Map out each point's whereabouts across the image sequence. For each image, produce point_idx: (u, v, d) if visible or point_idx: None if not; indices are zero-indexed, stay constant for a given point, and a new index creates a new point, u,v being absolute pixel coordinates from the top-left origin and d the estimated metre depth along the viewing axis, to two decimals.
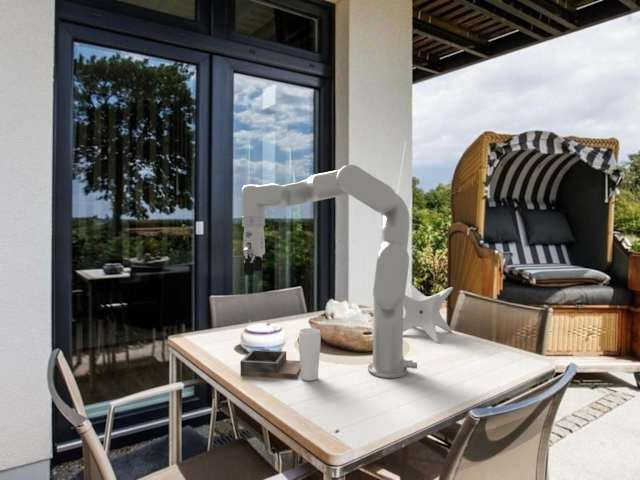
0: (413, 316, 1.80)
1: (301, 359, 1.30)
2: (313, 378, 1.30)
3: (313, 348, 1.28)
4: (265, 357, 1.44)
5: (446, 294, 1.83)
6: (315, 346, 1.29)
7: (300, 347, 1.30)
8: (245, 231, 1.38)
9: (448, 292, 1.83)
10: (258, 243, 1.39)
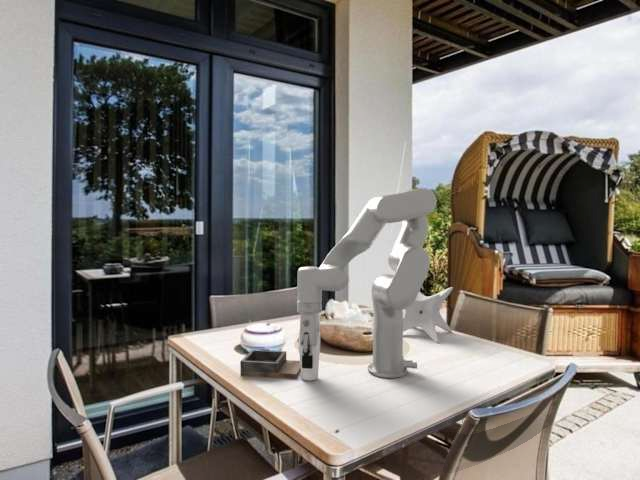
0: (413, 316, 1.80)
1: (301, 359, 1.30)
2: (313, 378, 1.30)
3: (313, 348, 1.29)
4: (265, 357, 1.44)
5: (446, 294, 1.83)
6: (315, 346, 1.29)
7: (300, 347, 1.30)
8: (302, 319, 1.27)
9: (448, 292, 1.83)
10: (316, 331, 1.27)
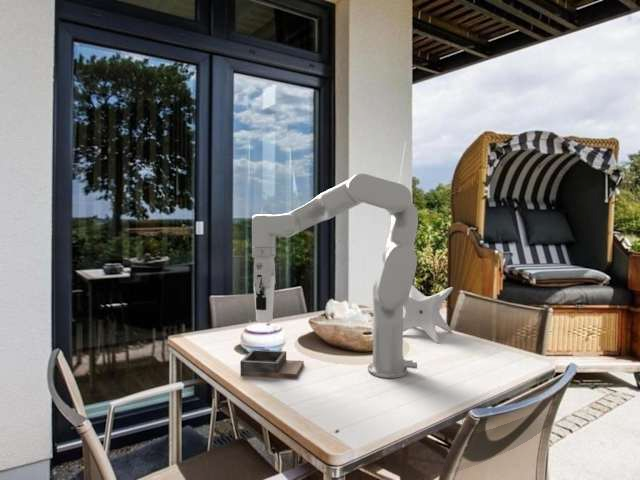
0: (413, 316, 1.80)
1: (255, 301, 1.37)
2: (267, 319, 1.36)
3: (266, 290, 1.35)
4: (265, 357, 1.44)
5: (446, 294, 1.83)
6: None
7: (254, 290, 1.36)
8: (255, 263, 1.33)
9: (448, 292, 1.83)
10: (269, 274, 1.34)
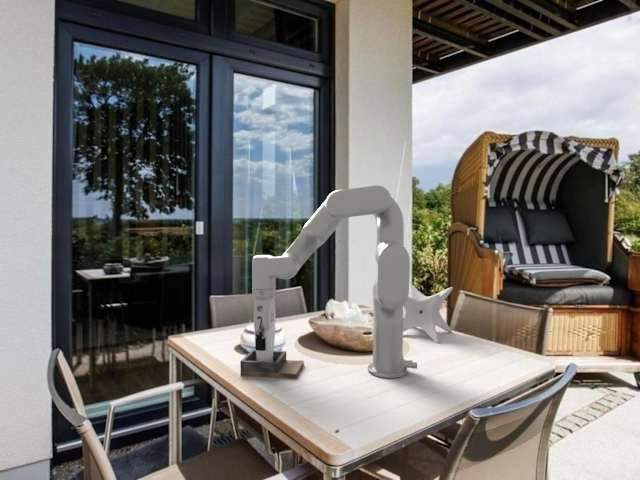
0: (413, 316, 1.80)
1: None
2: None
3: (267, 336, 1.36)
4: None
5: (446, 294, 1.83)
6: (269, 334, 1.36)
7: None
8: (256, 304, 1.34)
9: (448, 292, 1.83)
10: (269, 316, 1.35)
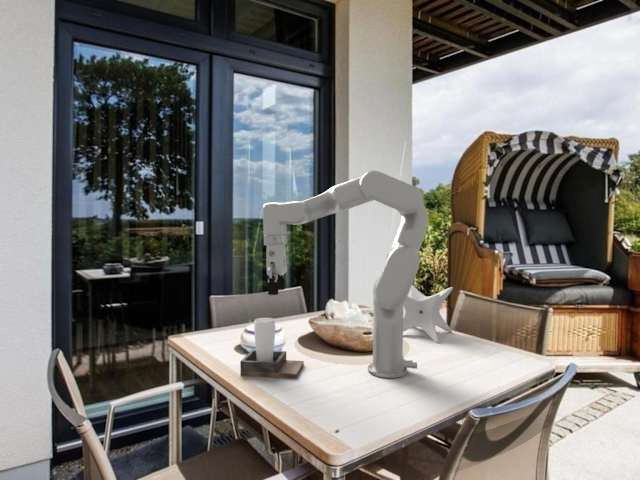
0: (413, 316, 1.80)
1: (256, 347, 1.37)
2: None
3: (267, 336, 1.36)
4: None
5: (446, 294, 1.83)
6: (269, 334, 1.36)
7: (255, 335, 1.37)
8: (268, 250, 1.36)
9: (448, 292, 1.83)
10: (281, 261, 1.36)
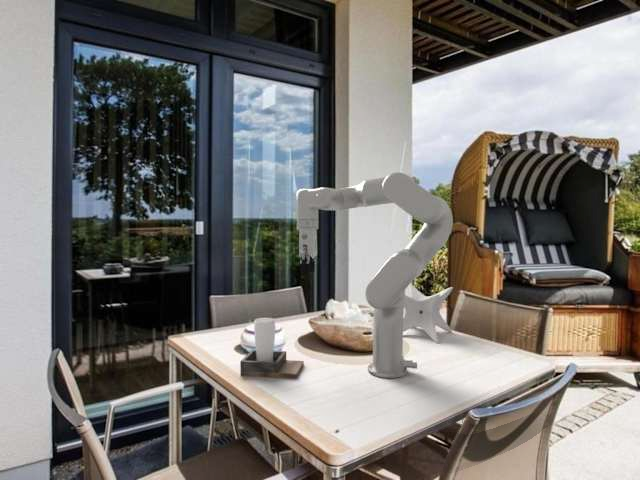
0: (413, 316, 1.80)
1: (256, 347, 1.37)
2: None
3: (267, 336, 1.36)
4: None
5: (446, 294, 1.83)
6: (269, 334, 1.36)
7: (255, 335, 1.37)
8: (301, 233, 1.44)
9: (448, 292, 1.83)
10: (313, 244, 1.44)
